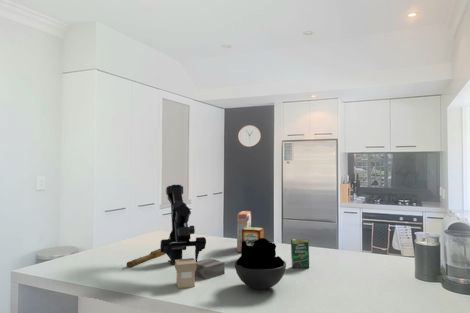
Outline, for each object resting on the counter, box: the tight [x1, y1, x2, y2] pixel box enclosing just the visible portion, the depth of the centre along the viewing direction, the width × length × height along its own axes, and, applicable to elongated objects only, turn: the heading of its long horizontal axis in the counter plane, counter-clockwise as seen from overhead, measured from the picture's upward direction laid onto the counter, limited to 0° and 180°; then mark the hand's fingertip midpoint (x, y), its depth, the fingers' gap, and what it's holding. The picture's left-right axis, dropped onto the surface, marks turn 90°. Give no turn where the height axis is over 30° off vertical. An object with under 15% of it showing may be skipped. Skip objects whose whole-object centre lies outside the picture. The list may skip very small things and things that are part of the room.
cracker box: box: [236, 210, 252, 253], centre depth 199 cm, size 14×6×21 cm, turn 168°
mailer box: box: [176, 271, 196, 289], centre depth 142 cm, size 6×6×9 cm
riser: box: [195, 257, 226, 280], centre depth 155 cm, size 10×10×5 cm
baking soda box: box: [242, 226, 265, 246], centre depth 178 cm, size 10×6×16 cm
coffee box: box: [290, 238, 310, 269], centre depth 164 cm, size 8×3×13 cm, turn 92°
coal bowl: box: [234, 237, 287, 291], centre depth 138 cm, size 20×20×19 cm
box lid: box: [174, 258, 196, 274], centre depth 142 cm, size 8×8×3 cm
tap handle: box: [126, 248, 165, 269], centre depth 179 cm, size 3×3×30 cm
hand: (185, 262), depth 142 cm, fingers open, 9 cm apart
